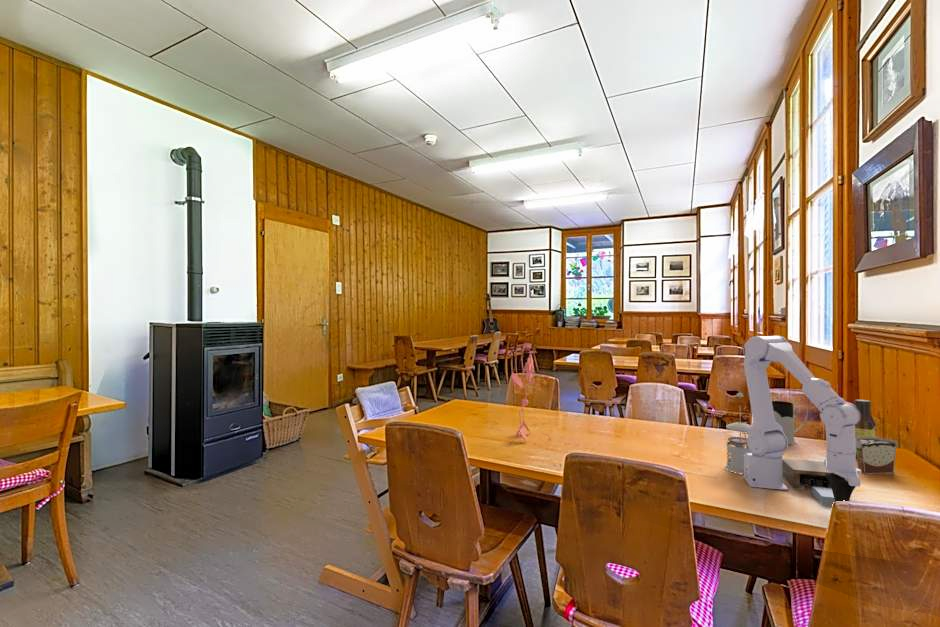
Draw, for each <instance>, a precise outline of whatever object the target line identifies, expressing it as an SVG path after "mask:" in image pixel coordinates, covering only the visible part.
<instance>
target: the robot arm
mask: <svg viewBox="0 0 940 627" xmlns="http://www.w3.org/2000/svg"><path fill="white" fill-rule="evenodd" d="M743 346H744V347H743V348H744V352H745V354H744V357H743V358H744V359H743V368H744V373H745V380H746V384H747V391H748V398H749V402H750V409H751V410H750V411H751V413H752V414H751V415H752V422H751V424H749V425H750V426H749V428H748V434H747V436H746V438H747V445H748V447H749V449H750V450H751V451H752V453H745V454H744V475H743V479H744V480H745V482H746V483H747V484H748V485H749V487H751V488H761V489H769V490H770V489H771V490H782V491H788V490H789V488H788V487H787V486H786V485H785V484H784V483H783V479H784V478H783V477H782V459H783V455H785V454H784V452H785V451H787V449H788V447H789V445H788V439H787V437H786V436H785V434H784V432H783V428H782V426H781V425H780V424H778V423H777V422H776V421H775V417H774V411H773V406H772V401H773V400H772V396H771V390H770V384H769V379H768V372H767V367H768V366H769V365H770V364H771V363H772V362H775V363H779V364H781V365H782V366H783V367H784V368H785V369H786V370H787V371H788V372H789V373H790V374H791V375H792V376H793V377H794V378H795V379H796V380H797V381H799V383H800V384H801V385H802V388H801V390H802V391H801V392H802V393H803V394H804V395H805V396H806V397H807V398H808V399H809V400H810V401H811V403H812V404H813V405H814V406H815V407H816V408H817V410H818V411H819V412H820V413H819V417H820V419H821V421H822V423H823V424H824V429H825V430H824V431H825V438H826V439H825V440H826V442H825V443H826V445H825V446H826V458H824V459H823V460H824V461H823V462H824V466H825V467H826V470H828V471H830V472H832V473H825V476H826V477H827V479H828V481H829V483H830V485H831V488H832V492H833V495H834V499H835V502H836V501H843V500H845V501H849V502H850V500H851V497H852V494H853V492H854V490H855V489H856V488H857V487H858V488H860V487H861V478H859V474H863V473H862V471H861V470H860V469H859V467H858V468H857V466H856V465H857V460H856V459H857V458H856V450H855V424H857V423H858V422H859V421H860V412H859V410H858V409H857V408H856V404H853V403H851V402H847V401H846V400H845V399H844V398H843V397H840V395H839V394H837V392H836V391H835V390H834V389H833V388H832V387H831V383H830V382H829V381H827V380H826V381H825V380H824V378H817V377H815V376H814V375H813V373H812V372H811V370H810V369H809V368H808V367H807V366H806V365H805V363H804V362H803V361H802V359H800V357H798V356H797V354H796V353H795V351H794V350H793V346H792V344H791V343H790V342H789V341H787V339H786V338H785V337H784V336H781V335H777V334H775V335H767V336H766V335H764V336H763V335H762V336H759V335H755V336H751V337H750V338H749V339H748V340H747V341H746V342H745V343H744V344H743Z"/></svg>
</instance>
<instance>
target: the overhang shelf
mask: <svg viewBox="0 0 940 627" xmlns="http://www.w3.org/2000/svg"><path fill="white" fill-rule="evenodd" d="M825 473H832V472H830V471H828V470H826V467H825V466H824V461H816V460H807V459H795V458H794V459H792V458H782V477H783V479H784V480H785V481H786V482H787V483H788V484H789V485H790V486H791V487H792V488H793V489H796V490H805V486H807V487H808V486H809V487H811V481H813V485H814V487H823V488H824V486H823V484H824V483H823V482H825V484H827V488H831V485H830V483H829V481H828V479H827V477H826V476H825ZM800 480H801V481H800Z"/></svg>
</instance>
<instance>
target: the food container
mask: <svg viewBox="0 0 940 627" xmlns="http://www.w3.org/2000/svg"><path fill="white" fill-rule="evenodd" d="M855 447H856V451H857V458H856V459H857V464H858V465H857V466H858V469H860V470H861V471H862V473H861V474H863V473H864V474H863V475H875V474H874V473H886V474H894V473H895V463H896V454H897V453H896V452H897V448H899V445H898V443H897V440H893V439H888V438H884V437H877V436H876V437H857V438H855Z"/></svg>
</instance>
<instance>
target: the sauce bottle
mask: <svg viewBox="0 0 940 627" xmlns="http://www.w3.org/2000/svg"><path fill="white" fill-rule="evenodd" d="M854 405H855V406H856V408H857V409H858V410H859V412H860V421H859V422H858V423H857V424H855V438H857V437H877V424H876V421H875V420H874V418H873V416H872V414H871V400H868V399H867V400H866V399H855V400H854ZM855 450H856V447H855ZM856 459H857V451H856Z"/></svg>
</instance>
